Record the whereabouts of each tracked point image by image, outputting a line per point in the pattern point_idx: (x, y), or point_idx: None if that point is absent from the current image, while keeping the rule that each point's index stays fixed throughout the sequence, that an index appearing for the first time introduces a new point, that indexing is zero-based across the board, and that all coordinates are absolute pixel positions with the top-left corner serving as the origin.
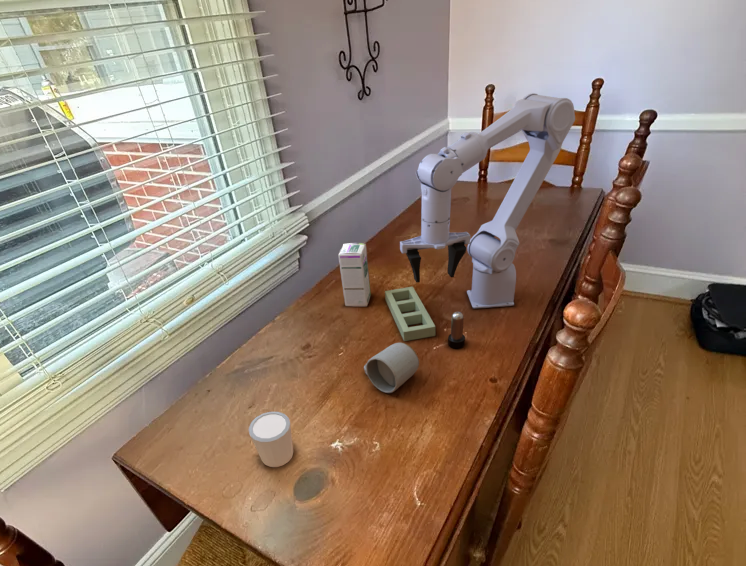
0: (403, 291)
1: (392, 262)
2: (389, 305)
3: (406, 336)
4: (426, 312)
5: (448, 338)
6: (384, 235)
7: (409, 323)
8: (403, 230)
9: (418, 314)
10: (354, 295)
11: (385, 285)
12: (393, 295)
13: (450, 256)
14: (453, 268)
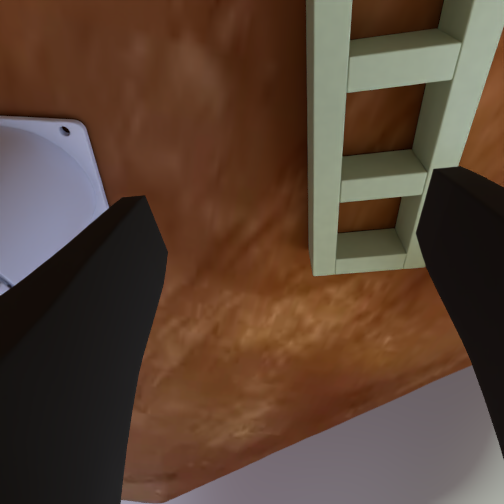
0: (356, 255)
1: (315, 377)
2: None
3: None
4: (319, 67)
5: None
6: (301, 438)
7: (408, 35)
8: (258, 443)
9: (369, 54)
10: None
11: (374, 305)
12: (395, 245)
13: (104, 387)
14: (91, 245)
